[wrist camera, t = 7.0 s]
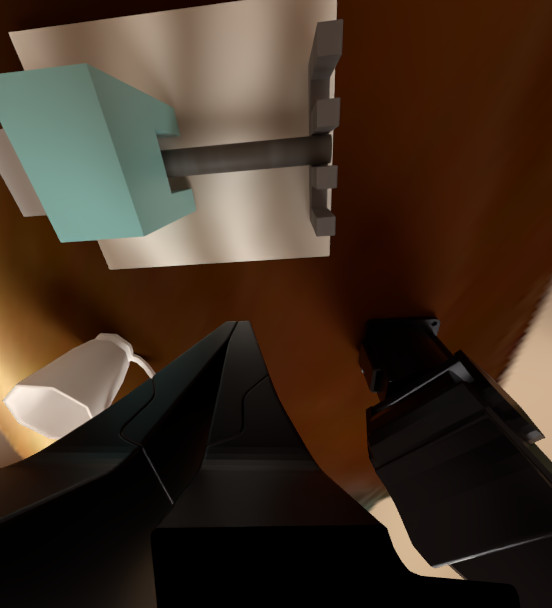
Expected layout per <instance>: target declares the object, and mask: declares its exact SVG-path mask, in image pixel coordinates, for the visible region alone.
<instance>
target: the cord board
mask: <svg viewBox="0 0 552 608" xmlns="http://www.w3.org/2000/svg"><path fill="white" fill-rule="evenodd" d="M336 16H337V0H242V1H235V2H227V3H220V4H213V5H205V6H198V7H191V8H183V9H176V10H169V11H162V12H154V13H147V14H140V15H132V16H125V17H118V18H110V19H103V20H96V21H89V22H81V23H74V24H67V25H59V26H52V27H45V28H38V29H30V30H23V31H16V32H8V33H9V35H10V38H11V40H12V42H13V45H14V47H15V49H16V52H17V54H18V56H19V59H20V61H21V63H22V66H23V68H24V70H25V71H27V70H35V69H43V68H51V67H59V66H67V65H75V64H83V63H87V64H89V65H91V66H93V67H95V68H97V69H99V70H101V71H103V72H105V73H107V74H109V75H111V76H112V77H114V78H116V79H118V80H120V81H122V82H124V83H126V84H128V85H130V86H132V87H134V88H136V89H138V90H140V91H142V92H144V93H146V94H148V95H150V96H152V97H154V98H156V99H157V100H159V101H161V102H163V103H165V104H167V105H169V106H171V107H173V108H174V111H175V115H176V120H177V124H178V129H179V133H180V136H176V137H166V138H157V140H158V143H159V147H160V151H161V155H162V159H163V163H164V167H165V170H166V174H167V178H168V182H169V186H170V190H171V191H172V190H184V189H192V192H193V197H194V201H195V206H196V211H194V212H192V213H190V214H188V215H186V216H184V217H182V218H180V219H178V220H176V221H174V222H172V223H170V224H168V225H166V226H164V227H162V228H160V229H158V230H156V231H154V232H152V233H150V234H148V235H146V236H144V237H130V238H116V239H102V240H97V241H98V243H99V245H100V248H101V250H102V252H103V255H104V257H105V259H106V262H107V264H108V266H109V269H110V270H111V269H127V268H143V267H159V266H176V265H192V264H208V263H224V262H240V261H257V260H273V259H289V258H305V257H321V256H330V236H334V235H335V219H336V217H335V216H334V214H333V213H332V212H331V188H337V167H338V165H332V154H333V130H334V129H335V128H336V127H338V126H339V115H340V98H334V85H335V67H336V65H337V63H338V61H339V59H340V57H341V55H342V37H343V19H339V20H336ZM0 174H1V176H2V177H3V179H4V181H5V183H6V185H7V186H8V188H9V190H10V192H11V194H12V196H13V197H14V199H15V201H16V203H17V205H18V207H19V208H20V210H21V212H22V214H23V216H24V217H27V216H39V215H47V214H46V212H45V210H44V208H43V206H42V204H41V202H40V200H39V198H38V196H37V194H36V192H35V190H34V188H33V186H32V184H31V182H30V180H29V178H28V176H27V174H26V172H25V170H24V168H23V166H22V164H21V162H20V160H19V158H18V156H17V154H16V152H15V150H14V148H13V146H12V144H11V142H10V140H9V138H8V136H7V134H6V132H5V130H4V129H0Z"/></svg>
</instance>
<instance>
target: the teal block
mask: <svg viewBox="0 0 552 608" xmlns="http://www.w3.org/2000/svg"><path fill="white" fill-rule="evenodd" d="M0 122H1V124H2V126H3V128H4V130H5V132H6V134H7V136H8V138H9V140H10V142H11V144H12V146H13V148H14V150H15V152H16V154H17V156H18V158H19V160H20V162H21V164H22V166H23V168H24V170H25V172H26V174H27V176H28V178H29V180H30V182H31V184H32V186H33V188H34V190H35V192H36V194H37V196H38V198H39V200H40V202H41V204H42V206H43V208H44V210H45V212H46V214H47V216H48V218H49V220H50V222H51V224H52V226H53V228H54V230H55V232H56V234H57V236H58V238H59V240H60V242H74V241H88V240H102V239H116V238H130V237H144V236H146V235H148V234H150V233H152V232H154V231H156V230H158V229H160V228H162V227H164V226H166V225H168V224H170V223H172V222H174V221H176V220H178V219H180V218H182V217H184V216H186V215H188V214H190V213H192V212H194V211H196V206H195V201H194V197H193V192H192V189H184V190H172V191H171V190H170V186H169V182H168V178H167V174H166V170H165V167H164V163H163V159H162V155H161V151H160V147H159V143H158V140H157V138H166V137H176V136H180V133H179V129H178V124H177V120H176V115H175V111H174V108H173V107H171V106H169V105H167V104H165V103H163V102H161V101H159V100H157V99H156V98H154V97H152V96H150V95H148V94H146V93H144V92H142V91H140V90H138V89H136V88H134V87H132V86H130V85H128V84H126V83H124V82H122V81H120V80H118V79H116V78H114V77H112V76H111V75H109V74H107V73H105V72H103V71H101V70H99V69H97V68H95V67H93V66H91V65H89V64H87V63H83V64H75V65H67V66H59V67H51V68H43V69H35V70H27V71H19V72H11V73H2V74H0Z"/></svg>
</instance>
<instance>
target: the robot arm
mask: <svg viewBox="0 0 552 608" xmlns="http://www.w3.org/2000/svg"><path fill="white" fill-rule="evenodd" d="M432 322H434V323H433V324H432ZM371 324H374V325H373V326H370V325H371ZM439 325H440V321H439V320H438V319H437V318H436V317H420V318H396V319H373V320H369V321H367V323H366V328H365V336H364V340H362V341H361V346H360V355H359V362H360V365H361V371H362V372H363V373H364V376H365V379H366V381H367V384H368V387H369V389H370V391H371V392H372V393H377V394H378V397H379V399H380V403H378V404H376V405H375V406H373V407H372V406H371V407H369V408H368V409H366V422H367V444H368V453H369V459H370V461H371V463H372V465H373V467H374V469H375V472H376V474H377V475H378V477H379V478H380V480H381V481H382V483H383V484H384V486H385V487H386V489H387V490H388V492H389V494H390V496H391V498H392V500H393V501H394V503H395V505H396V507H397V509H398V512H399V514H400V516H401V519H402V521H403V523H404V526H405V528H406V531H407V533H408V535H409V538H410V540H411V542H412V544H413V546H414V547H415V548H416V550H417V551H418V552H419V553H420V554H421V556H422V557H423V558H424V559H425V560H426V561H427V563H428V564H429V565H430V566H432V567H433V568H437V567H441V566H445V565H449V566H450V567H451V568H452V569H453V570H455V571H456V572H457V573H458V574H459V575H460V576H461V577H463V578H464V580H461V579H450V578H438V577H426V576H420V575H417V574H415V573H413V572H410V571H409V570H408V569H407V568H406V566H405V565H404V564H403V563H402V561H401V560H400V558H399V556H398V555H397V553H396V551H395V549H394V547H393V544H392V542H391V539H390V536H389V533H388V530H387V528H386V527H385V526H384V525H383V524H381V523H380V522H379V521H378V520H377V519H376V518H375V517H374V516H372V515H371V514H370V513H369V512H368V511H367V510H366V509H365V508H363V507H362V506H361V505H360V504H359V503H358V502H357V501H356V500H354V499H353V498H352V497H351V496H350V495H349V494H348V493H347V492H345V491H344V490H343V489H342V488H341V487H340V486H339V485H338V484H336V483H335V482H334V481H333V480H332V479H331V478H330V477H329V476H327V475H326V474H325V473H324V472H323V471H322V469H321V468H320V467H319V466H318V464H317V463H316V462H315V460H314V459H313V457H312V456H311V454H310V452H309V451H308V449H307V447H306V446H305V444H304V442H303V441H302V439H301V437H300V435H299V434H298V432H297V430H296V428H295V427H294V425H293V423H292V422H291V420H290V418H289V416H288V415H287V413H286V411H285V409H284V407H283V405H282V403H281V402H280V400H279V398H278V395H277V393H276V391H275V388H274V386H273V383H272V380H271V378H270V375H269V372H268V370H267V367H266V364H265V361H264V359H263V356H262V353H261V350H260V347H259V345H258V342H257V339H256V336H255V334H254V331H253V328H252V325H251V322H250V321H239V322H237V321H227V322H225V323H224V324H222V325H221V326H220V327H218V328H217V329H216V330H214V331H213V332H212V333H210V334H209V335H208V336H206V337H205V338H204V339H202V340H201V341H200V342H198V343H197V344H196V345H194V346H193V347H191V348H190V349H189V350H187V351H186V352H185V353H183V354H182V355H181V356H179V357H178V358H177V359H175V360H174V361H173V362H171V363H170V364H169V365H167V366H166V367H164V368H163V369H162V370H160V371H159V372H158V373H156V374H155V375H154V376H153V377H152V378H150V379H148V380H147V381H146V382H144V383H143V384H141V385H140V386H139V387H137V388H136V389H135V390H133V391H132V392H130V393H129V394H128V395H126V396H125V397H123V398H122V399H120V400H119V401H117V402H116V403H114V404H113V405H111V406H110V407H108V408H107V409H105V410H104V411H102V412H101V413H99V414H98V415H96V416H95V417H93V418H91V419H90V420H88V421H87V422H85V423H84V424H82V425H81V426H79V427H77V428H76V429H74V430H73V431H71V432H70V433H68V434H67V435H65V436H64V437H62V438H60V439H59V440H57V441H56V442H54V443H53V444H51V445H50V446H48V447H46V448H45V449H43V450H41V451H40V452H38V453H36V454H34V455H32V456H30V457H28V458H26V459H24V460H21V461H19V462H17V463H14V464H11V465H8V466H6V467H3V468H0V608H552V462H551V460H550V459H549V458H548V457H547V456H546V455H545V454H544V453H543V452H542V451H541V450H540V449H539V447H537V445H536V444H535V442H536V441H539V440H541V439H543V438H545V436H544V435H543V434H542V433H541V431H540V430H539V429H538V428H537V426H536V425H535V424H534V423H533V422H532V420H531V419H530V418H529V416H528V415H527V414H526V413H525V412H524V410H523V409H522V408H521V407H520V406H519V405H518V404H517V403H516V402H515V401H514V400H513V399H512V398H511V397H510V396H509V395H508V394H507V393H506V392H505V391H504V390H503V389H502V388H501V387H500V386H499V384H498V383H497V382H496V381H494V380H493V379H492V378H491V377H490V376H489V375H488V374H487V373H486V372H485V371H484V370H482V369H481V368H480V367H479V366H478V365H477V364H476V363H475V362H474V361H473V360H472V359H470V358H469V357H468V356H467V355H466V354H465V353H464V352H463V351H462V350H459V351H457V352H456V353H454V355H453V354H452V353H451V352H450V351H449V350H448V349H447V348H446V346H445V345H444V344H443V343H442V342H441V341H440V340H439V338H438V337H437V332H438V329H439Z"/></svg>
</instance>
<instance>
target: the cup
mask: <svg viewBox="0 0 552 608" xmlns="http://www.w3.org/2000/svg"><path fill="white" fill-rule="evenodd" d="M130 361H133V362H136V363H138V364H139V365H140V366H141V367H142V368H143V369H144V370H145V371H146V372H147V374H148V375H149V377H150V378H152V377H153V376H154V375H155V374H156V373H155V372H154V370H153V369H152V368H151V367H150V365H149V364H148V363H147V362H146V361H145V360H144V359H143V358H142V357H140V356H138V355H136V354H134V353H133V349H132V346H131V344H130V343H129V342H127V341H126V340H124V339H123V338H122V337H120V336H119V335H117V334H107V333H100V334H99V335H98V336H97V337H96V338H95V339H94V340H90V341H88V342H86V343H84V344H82V345H80V346H78V347H76V348H74V349H72V350H70V351H69V352H67V353H65V354H64V355H62V356H61V357H59V358H58V359H56V360H54V361H53V362H51V363H50V364H48V365H47V366H45V367H43V368H42V369H40V370H38V371H37V372H35V373H33V374H32V375H30V376H29V377H27V378H25V379H24V380H22V381H21V382H19V383H18V384H16V385H15V386H14V387H13V389H12V390H11V391H10V392H9V393H8V394H7V396H6V397H5V398H4V399H3V402H4V403H5V405H6V406H7V408H8V409H9V410H10V412H11V413H12V415H13V416H14V417H15V419H16V420H17V422H18V423H19V424H21V425H23V426H25V427H27V428H29V429H31V430H33V431H35V432H37V433H39V434H41V435H44V436H46V437H48V438H50V439H60V438H62V437H64V436H65V435H67V434H68V433H70V432H71V431H73V430H74V429H76V428H77V427H79V426H81V425H82V424H84V423H85V422H87V421H88V420H90V419H91V418H93V417H95V416H96V415H98V414H99V413H101V412H102V411H104V410H105V409H107V408H108V407H110V405H111V403H112V401H113V399H114V397H115V395H116V394H117V392H118V390H119V388H120V386H121V384H122V383H123V380H124V378H125V375H126V372H127V370H128V367H129V362H130Z"/></svg>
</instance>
